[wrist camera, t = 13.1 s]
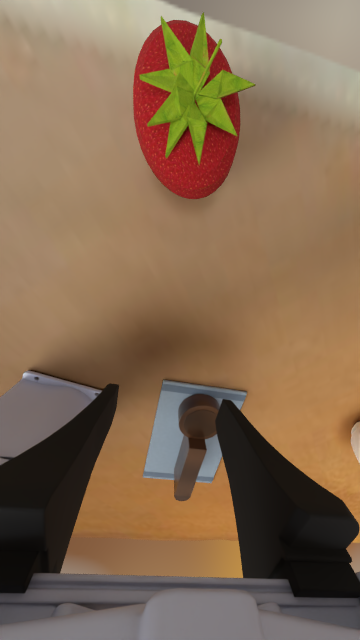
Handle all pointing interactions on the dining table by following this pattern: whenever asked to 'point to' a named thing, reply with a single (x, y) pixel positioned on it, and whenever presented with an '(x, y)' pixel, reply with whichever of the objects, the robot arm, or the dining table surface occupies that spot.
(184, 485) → the spoon
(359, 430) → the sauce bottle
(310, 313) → the dining table surface
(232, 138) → the strawberry
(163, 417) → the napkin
